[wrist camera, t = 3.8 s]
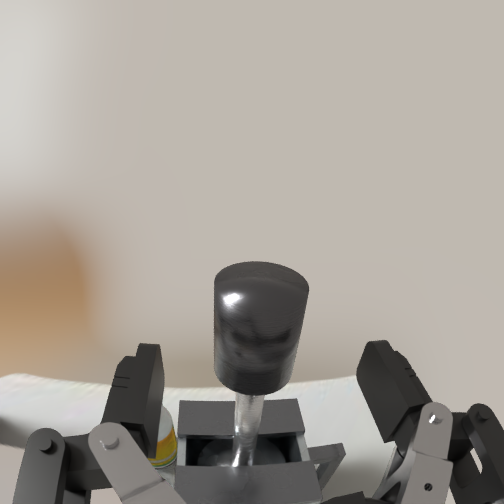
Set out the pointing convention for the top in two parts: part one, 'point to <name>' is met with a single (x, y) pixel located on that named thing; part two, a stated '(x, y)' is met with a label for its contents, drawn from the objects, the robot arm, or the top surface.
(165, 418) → the supplement bottle
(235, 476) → the grey box
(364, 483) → the top surface
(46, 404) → the top surface
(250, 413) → the dark grey knob handle
